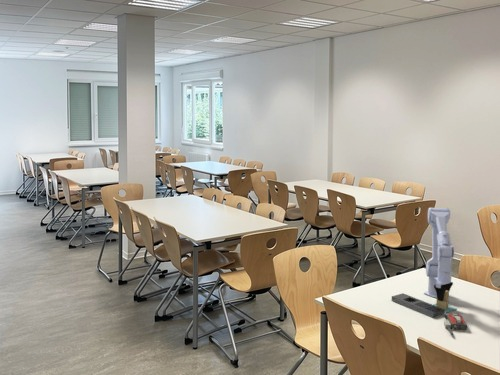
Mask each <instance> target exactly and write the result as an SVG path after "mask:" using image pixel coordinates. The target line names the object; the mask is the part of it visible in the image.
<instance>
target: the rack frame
mask: <svg viewBox="0 0 500 375" xmlns="http://www.w3.org/2000/svg"><path fill="white" fill-rule="evenodd" d="M391 302H393V303H396V304H399V305H401V306H404V307H406V308H407V309H411V310H412V311H416V312H418V313H419V314H423V315H425V316H428V317H430V318H432V319H434V318H437V317H439V316H443V315H446V313H445V309H442V308H440V307H437V306H435V305H433V304H432V303H430V302H427V301H424V300H422V299H419V298H416V297H413V296H411V295H409V294H407V293H406V294H405V293H403V292H402V293H399V294H396V295H392V296H391Z"/></svg>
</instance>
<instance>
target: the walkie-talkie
mask: <svg viewBox="0 0 500 375" xmlns="http://www.w3.org/2000/svg"><path fill="white" fill-rule="evenodd" d="M444 319H445V320H444V321H443V325H444V328H445V330H448V332H449V334H450V336H454V333H453V331H461V330H462V332H464V331H465V332H466V331H468V324H467V323H466V321H465V320H464V317H463V316H462V315H461V314H460V313H451V312H447V313H445V314H444Z"/></svg>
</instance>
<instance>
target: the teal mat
mask: <svg viewBox="0 0 500 375" xmlns="http://www.w3.org/2000/svg"><path fill="white" fill-rule="evenodd" d="M432 305H435V306H436V303H434V304H432ZM456 310H457V308H456V307H453V306H451V305H448V308H446V309H445V314H448V313H451V312H452V311H456Z"/></svg>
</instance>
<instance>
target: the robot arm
mask: <svg viewBox="0 0 500 375" xmlns="http://www.w3.org/2000/svg"><path fill="white" fill-rule="evenodd" d="M450 218H451V210H450V208H449V207H447V208H446V207H429V208H428V209H427V224H429V225H430V226H431V229H432V231H431V235H432V236H431V237H432V238H431V242H432V244H431V245H432V246H431V248H432V249H431V251H432V252H431V254H432V255H431V256H432V257H431V258H429V259H428V260H427V261H426V266H425V275H426V277H428V284H427V285H428V286H427V291H425V292H423V294H424V295H427V296H429V297H432V298H435V299H437V298H438V300H439V301H443V299H444V294H445V291H446V290H448V291H449V292H450V291H451V288H452V286H453V285H454V282H452V265H453V264H452V261H453V258H454V257H455V256H454V255H455V249H454V248H455V247H454V245H453V244H452V242H451V236H450V233H448V232H447V231H448V230H447V224H448V222H449V220H450Z"/></svg>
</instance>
